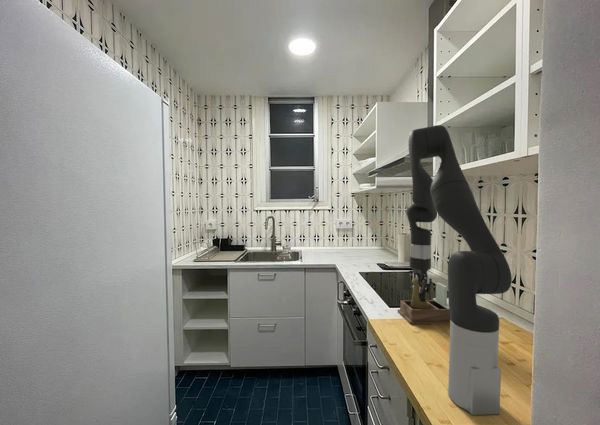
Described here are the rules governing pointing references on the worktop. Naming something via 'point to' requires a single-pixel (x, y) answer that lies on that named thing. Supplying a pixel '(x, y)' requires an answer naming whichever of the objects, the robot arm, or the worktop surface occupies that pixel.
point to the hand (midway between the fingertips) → (419, 300)
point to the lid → (441, 295)
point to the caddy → (424, 313)
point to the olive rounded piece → (417, 296)
